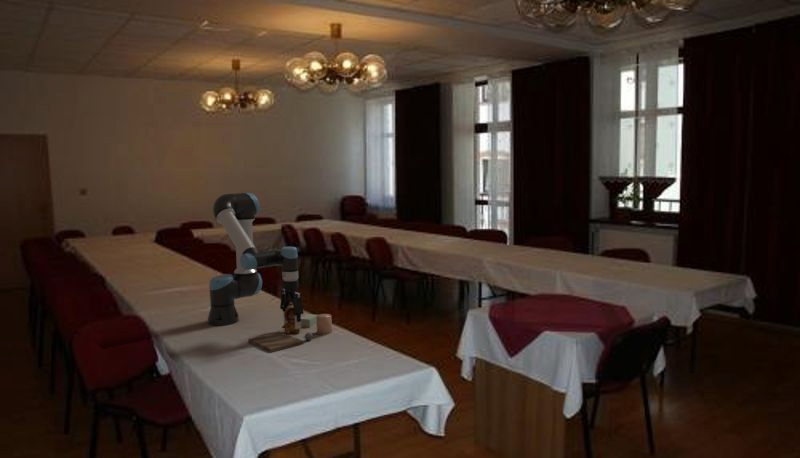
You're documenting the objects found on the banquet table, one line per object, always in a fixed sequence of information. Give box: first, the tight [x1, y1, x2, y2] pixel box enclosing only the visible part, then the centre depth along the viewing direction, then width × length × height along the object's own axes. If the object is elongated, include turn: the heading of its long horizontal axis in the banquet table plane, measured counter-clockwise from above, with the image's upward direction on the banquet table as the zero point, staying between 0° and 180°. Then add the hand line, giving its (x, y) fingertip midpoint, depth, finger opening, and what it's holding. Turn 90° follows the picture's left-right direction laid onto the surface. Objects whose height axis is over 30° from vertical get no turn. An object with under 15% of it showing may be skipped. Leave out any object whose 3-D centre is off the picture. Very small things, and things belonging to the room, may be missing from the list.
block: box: [301, 313, 318, 328], centre depth 291 cm, size 6×9×4 cm, turn 157°
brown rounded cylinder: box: [316, 313, 333, 336], centre depth 276 cm, size 7×7×8 cm
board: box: [247, 331, 304, 353], centre depth 261 cm, size 20×16×2 cm
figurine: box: [281, 302, 304, 335], centre depth 278 cm, size 10×8×15 cm
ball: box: [304, 332, 314, 341], centre depth 264 cm, size 4×4×4 cm
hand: (292, 326), depth 278 cm, fingers closed on figurine, 9 cm apart
